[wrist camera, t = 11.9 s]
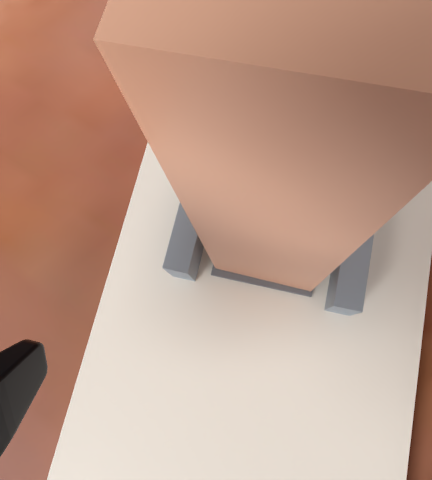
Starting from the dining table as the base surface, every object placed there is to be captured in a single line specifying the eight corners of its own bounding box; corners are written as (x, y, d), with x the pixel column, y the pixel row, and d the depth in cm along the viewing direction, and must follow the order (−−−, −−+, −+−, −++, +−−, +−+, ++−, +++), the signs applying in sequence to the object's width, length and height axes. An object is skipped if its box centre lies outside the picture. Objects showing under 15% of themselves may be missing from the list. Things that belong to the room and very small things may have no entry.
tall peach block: (310, 291, 16) (512, 105, 3) (215, 268, 17) (92, 38, 4) (334, 179, 17) (551, -272, 5) (243, 161, 18) (216, -279, 5)
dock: (370, 675, 14) (417, 812, 10) (35, 557, 16) (-41, 632, 12) (431, 160, 18) (481, 108, 14) (164, 117, 20) (142, 60, 16)
